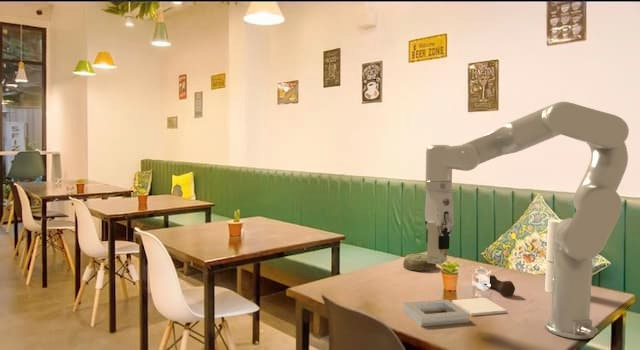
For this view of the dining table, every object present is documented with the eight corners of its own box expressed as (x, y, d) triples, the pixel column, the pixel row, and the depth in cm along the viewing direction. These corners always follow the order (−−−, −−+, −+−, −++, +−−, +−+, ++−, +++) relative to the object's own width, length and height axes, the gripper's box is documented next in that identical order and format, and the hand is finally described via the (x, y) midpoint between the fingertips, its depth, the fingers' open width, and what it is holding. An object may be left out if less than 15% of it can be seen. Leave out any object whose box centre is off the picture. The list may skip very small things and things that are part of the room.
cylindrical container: (565, 295, 165) (568, 223, 163) (542, 291, 170) (545, 221, 168) (569, 290, 171) (572, 220, 169) (547, 286, 175) (550, 218, 173)
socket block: (468, 322, 141) (469, 313, 141) (421, 326, 137) (421, 318, 137) (447, 307, 153) (447, 299, 153) (403, 310, 150) (403, 302, 150)
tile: (506, 312, 149) (506, 310, 149) (471, 315, 146) (471, 313, 146) (484, 299, 160) (484, 297, 160) (451, 302, 158) (451, 300, 158)
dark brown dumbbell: (485, 288, 179) (510, 300, 164) (475, 282, 178) (498, 293, 163) (493, 274, 180) (517, 285, 165) (482, 268, 178) (506, 278, 164)
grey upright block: (441, 265, 140) (441, 223, 139) (426, 263, 142) (427, 222, 141) (447, 260, 146) (448, 220, 145) (433, 258, 148) (434, 219, 147)
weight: (417, 274, 191) (417, 261, 191) (396, 266, 203) (396, 254, 202) (443, 269, 198) (443, 257, 197) (421, 262, 209) (421, 250, 209)
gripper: (465, 189, 135) (463, 252, 136) (436, 183, 152) (435, 239, 153) (440, 190, 133) (439, 253, 134) (414, 184, 150) (413, 240, 151)
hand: (437, 245), depth 144 cm, fingers closed on grey upright block, 7 cm apart
